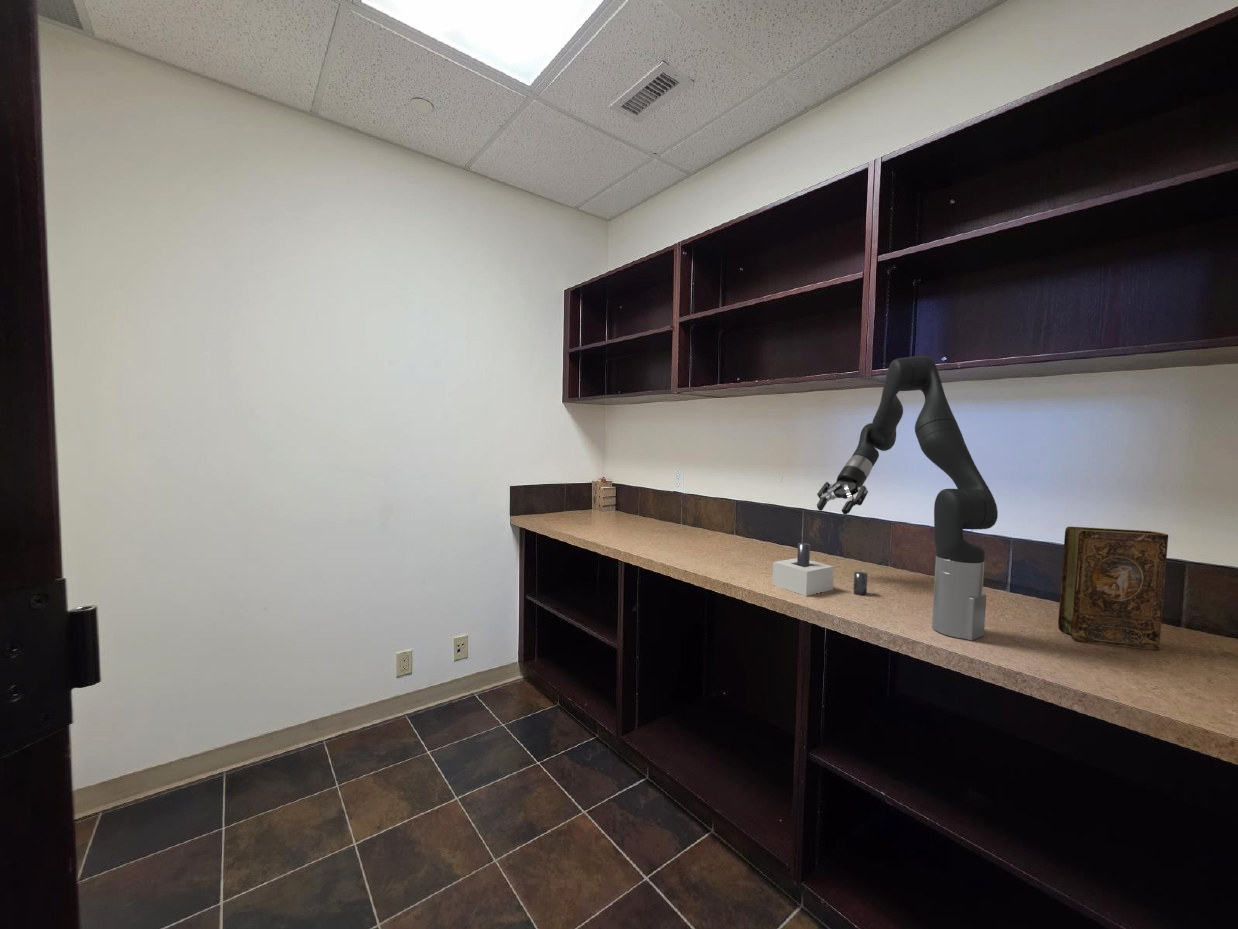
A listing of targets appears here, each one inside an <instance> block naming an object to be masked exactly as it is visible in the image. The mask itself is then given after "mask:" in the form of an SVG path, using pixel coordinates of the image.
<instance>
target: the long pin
mask: <svg viewBox="0 0 1238 929" xmlns="http://www.w3.org/2000/svg"><path fill="white" fill-rule="evenodd" d="M810 556H811V544H810V543H808V542H806V543H805V542H799V543H797V556H796V558H797V565H798V566H802V567H809V561H810Z"/></svg>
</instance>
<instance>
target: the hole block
mask: <svg viewBox="0 0 1238 929" xmlns="http://www.w3.org/2000/svg"><path fill="white" fill-rule="evenodd" d="M834 567H835V566H834V565H830V564H826V563H821V562H817V561H814V560H810V561H809V567H802V566H798V565H797V557H796V558H790V559H784V560H776V561H773V562H772V581H771V582H772V584H771V585H772V586H774V585H775V586H774V587H777V588H780V589H784V590H786V589H787V590H786V591H789V592H792V593H795V592H796V593H795V594H798V593H799V594H798V595H802V596H805V597H808V596H813V594H814V595H817V594H816V593H818V594H821V593H820V592H822V593H826V592H830V590H831V591H834V569H835V568H834Z"/></svg>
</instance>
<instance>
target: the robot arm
mask: <svg viewBox="0 0 1238 929" xmlns="http://www.w3.org/2000/svg"><path fill="white" fill-rule="evenodd" d="M887 368H888V369H887V371H886V374H885V375H886V376H885V379H884V382H883V388H882V392H881V399H880V403H879V406H878V408H877V410H876V412H875V414H874V416H873V419H872V422H869V423H867V424H865V425H864V426H863V428H862V429H861V431H860V434H859V440H858V444H857V447H856V448H855V451H854V452H853V454H852V455H851V457H850V458H849V459H848V460H847V462H846V463H845V464H844V466H843V467H842V469H841V470H840V472H839V474H838V475H837V478H836V481H835V482H834V483H833V484H831V483H829V482H828V481H825V482H824V483H823V485H822V486H821V488H820V489H819V490H818V492H817V493H816V496H817V497H818V498H819V500H818V502H817V504H816V508H817V510H818V511H820V512H822V511H823V510H824V508H825V507H826V505H827V504H828V502H830V501H831V500H836V499H845V500H847V501H846V502H845V503H844V505H843V506H842V509H841V512H842V514H843V515H848V514H849V513H850V512H851V511H852V509H853V507H855V506H857V505H858V506H862V505H863V502H864V501H865V499H866V497H867V495H868V494H869V491H868V488H867V487H866V485H864V484H865V482H866V481H867V478H868V477H869V476H870V474H871V473H872V472H871V471H872V469H873V467H874V466H875V464H876V462H877V461H878V460H879V457H880V453H879V451H882V452H885V451H886V452H887V451H889V450H891V449H892V448H893V446H894V445H895V443H896V439H897V427H898V425H899V423H900V421H901V419H902V418H903V415H904V407H903V404H902V402H901V400H900V399H899V397H898V393H899V392H912V391H921V392H922V393H923V396H924V404H923V406H922V407H921V411H920V412H919V414H918V415H917V418H916V421H915V424H914V433H915V436H916V438H917V442H918V445H919V447H920V449H921V451H922V453H923V454H924V455H925V457H926V458H927V459H928V460H930V461H931V462H932V464H934V465H935V466H936V467H937V468H939V469H940V470H941V471H943V472H944V473H945V474H946V476H948V477H949V478H950V479H951V481H952V482H953V483H954V485H955V486H956V488H945V489H942V490H940V491H939V492H938V493H937V495H936V497H935V500H934V505H933V507H934V508H933V525H934V526H933V528H934V529H933V531H934V532H933V540H934V546H935V563H934V564H935V566H934V581H933V583H934V585H933V602H932V618H931V619H932V622H931V628H932V629H933V630H935V631H936V632H938V633H939V634H943V635H946V636H949V637H952V638H958V639H964V640H968V641H975V640H976V639H979V638H981V637H983V636H985V626H986V605H987V594H985V593H983V590H984V574H985V573H984V572H985V558H986V556H985V555H986V554H985V553H986V552H985V549H984V548H982V547H981V546H979V545H976V544H973V543H970V542H969V541H968V540H966V539H965V537H964V530H988V529H991V528H992V527H994V526H995V524H996V522H997V521H998V516H999V515H998V513H999V512H998V506H997V502H996V500H995V498H994V495H993V494H992V491H991V490H990V488H989V487H988V485H987V483H986V481H985V479H984V477H983V476H982V475H981V473H980V471H979V470H978V468H977V465H976V464H975V461H974V459H973V457H972V455H971V453H970V451H969V449H968V447H967V444H966V442H965V439H964V437H963V434H962V431H961V429H960V427H959V425H958V422H957V420H956V418H955V416H954V414H953V411H952V409H951V407H950V405H949V401H948V399H947V397H946V395H945V391H944V386H943V383H942V379H941V376H940V372H939V370H938V367H937V364H936V363H935V361H934V359H933V358H932V357H930V356H928V355H919V356H907V357H899V358H895V359H893V360H892V361H891V362H890V364H889V366H888V367H887ZM832 493H833V494H832Z"/></svg>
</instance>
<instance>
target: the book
mask: <svg viewBox="0 0 1238 929" xmlns="http://www.w3.org/2000/svg"><path fill="white" fill-rule="evenodd" d="M1063 540H1064V541H1063V542H1064V543H1063V553H1062V554H1063V556H1062V565H1061V566H1062V567H1061V578H1060V579H1061V582H1060V592H1059V595H1060V596H1059V608H1058V621H1057V622H1058V623H1057V624H1058V625H1057V627H1058V630H1059V631H1060V632H1061V633H1064V634H1066V635H1069V636H1071V639H1072V640H1074V641H1076V642H1082V643H1089V644H1095V645H1107V646H1114V647H1124V648H1133V649H1142V650H1151V651H1160V645H1161V633H1162V621H1163V606H1164V595H1165V583H1166V582H1165V581H1166V573H1167V572H1166V570H1167V569H1166V567H1167V556H1168V547H1169V546H1168V544H1169V534H1166V533H1164V532H1158V531H1151V530H1138V529H1137V530H1136V529H1120V528H1101V527H1100V528H1099V527H1083V526H1067V527H1065V531H1064V539H1063Z"/></svg>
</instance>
